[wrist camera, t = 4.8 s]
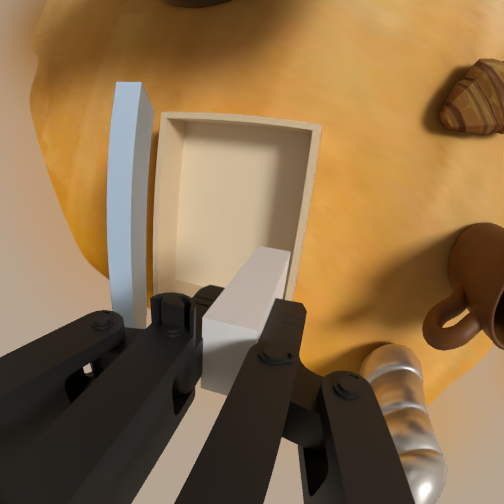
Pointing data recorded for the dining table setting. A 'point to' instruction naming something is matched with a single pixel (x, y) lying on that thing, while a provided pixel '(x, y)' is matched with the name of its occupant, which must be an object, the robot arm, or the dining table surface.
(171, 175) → the base
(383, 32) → the dining table surface
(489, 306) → the mug
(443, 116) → the croissant
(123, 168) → the lid
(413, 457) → the plastic bottle
